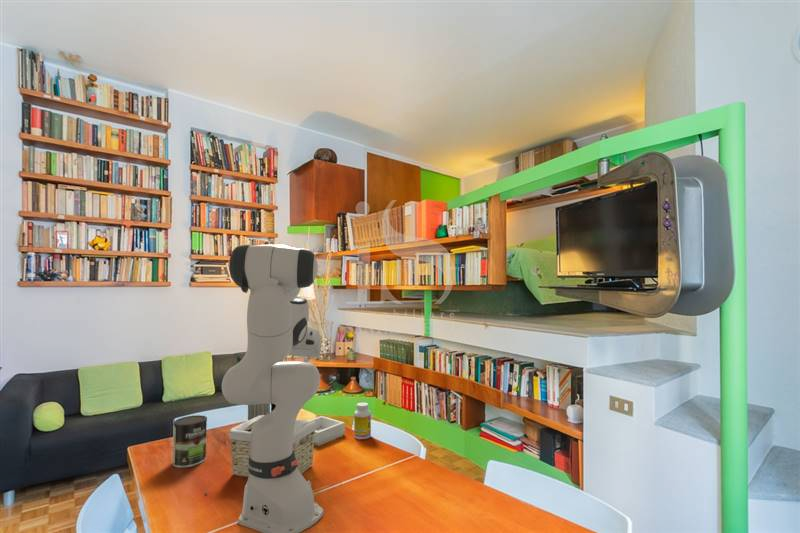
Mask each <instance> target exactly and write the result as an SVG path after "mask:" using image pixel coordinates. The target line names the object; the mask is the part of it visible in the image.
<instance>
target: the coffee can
mask: <svg viewBox="0 0 800 533" xmlns="http://www.w3.org/2000/svg"><path fill="white" fill-rule="evenodd" d="M207 421H208V417H207V416H205V415H199V414H198V415H189V416H184V417H179V418H177V419H176V420H174V421H173V451H172V453H173V454H172V460H173V461H172V466H173V467H175V468H179V469H181V468H182V469H184V468H191V467H194V466H198V465H200V464H202V463H204V462H205V461H206V459H207V426H208V425H207V423H208V422H207Z"/></svg>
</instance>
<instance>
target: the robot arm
mask: <svg viewBox="0 0 800 533" xmlns="http://www.w3.org/2000/svg"><path fill="white" fill-rule="evenodd" d="M228 271H229V275H230V278H231V280H232V281H233V282H234V284H235V285H236V286H238V287H239V288H240V289H241V292H243V293H245V294H248V292H249V290H250V293H249V296H248V300H247V301H248V303H247V311H246V327H247V328H246V329H247V345H246V346H247V348H246V352H245V354H244V356H243V357H242V359H241V360H239V361H238V363H236V364H235V365H233V366H231V367H230V368H228V370H227V371H226V372H225V374H224V375H223V378H222V381H221V392H222V396H223V397H224V399H225V400H226V402H228V403H229V404H232V405H233V404H235V405H240V406H242V405H243V406H248V405H256V404H269V403H272V404H275V405H276V407H275V409H274V410H273V411H272V412H271V411H270V413H269V414H267V415H265V416H263V417H262V418H260V419H259V420H257V421H256V422H255V423H254V425H253V427H252V429H251V450H250V456H249V461H248V471H249V473H250V474H249V477H247V481H246V483H245V486H244V490H243V500H242V510H241V511H242V512H241V513H240V515H239V517H238V520H237V523H238V524H239V525H241V526H243V527H247V528H249V529H252V530H255V531H257V532H260V533H302V532H303V531H305V530H306V529H309V528H310V527H312V526H313V525H314V524H316V523H317V522H318V521H319V520H320V519H321V518H322V517H323V516H324V513H325V512H324V508H323V507H322V506H320V505H319V504H318V503H317V502H316V501H315V496H314V491H313V488H312V482H311V481H310V480H306V479H305V477H304V475H303V473H302V474H301V473H300V471H299V470H298V468H297V464H298V463H297V461H299V459H298V460H296V456H295V453H294V450H293V432H294V424H295V420H296V419H298V415H299V413H300V411H301V410H302V408H303V407H304V406H305V404H306V403H307V402H308V401H309V400H311V399H312V398H314V396H315V395H316V394H317V392H318V391H319V389H320V384H321V374H320V372H319V371H320V370H319V369H318V367H317V366H316V365H315V364H314V363H313V362H309V361H310V360H311V358H315V359H317V358H320V356H321V354H322V341H321V337H320V331H319V330H317V329H314V328H312V327H309V326H308V322H309V317H310V316H309V315H310V308H309V306H310V305H309V301H308V299H307V298H305V297H303V296H299V294H300V292H301V289H304V288H309V287H311V286H312V285H313V284H314V282H315V280H316V279H317V275H318V273H319V265H318V260H317V258H316V255H315V253H314V252H313V251H312V250H310V249H306V248H302V247H300V248H297V247H291V246H289V245H287V244H286V245H285V244H258V245H257V244H255V245H251V244H242V245H238V246H236V247H234V249H232V251H231V254H230V256H229V260H228ZM288 356H292V357H296V356H297V357H303V361H302V360H289V361H287V360H286V361H284V359H285V358H286V357H288ZM304 357H305V358H304Z"/></svg>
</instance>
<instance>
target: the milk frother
mask: <svg viewBox="0 0 800 533" xmlns="http://www.w3.org/2000/svg"><path fill="white" fill-rule="evenodd" d="M275 407H276V405H275V404H272V403H269V404H256V405H247V421H248V420H251V419H253V418H255V417H257V416H260V415H264V416H265V415H267V414H269V413H270V412H272V411H273V410H274V409H275ZM247 432H251V429H249V430H247Z"/></svg>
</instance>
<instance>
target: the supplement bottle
mask: <svg viewBox="0 0 800 533" xmlns="http://www.w3.org/2000/svg"><path fill="white" fill-rule="evenodd" d="M368 408H369V403H368V402H358V403H356V410H355V411H354V414H353V415H354V416H353V418H354V419H353V420H354V421H353V422H354V423H353V426H354V427H353V431H354V432H353V435H354V436H353V437H354V438H355V439H357V440H367V439H369V438H370V437H371V435H372V434H371V433H372V425H371V424H372V422H371V421H372V415H371V410H369V409H368Z"/></svg>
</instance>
